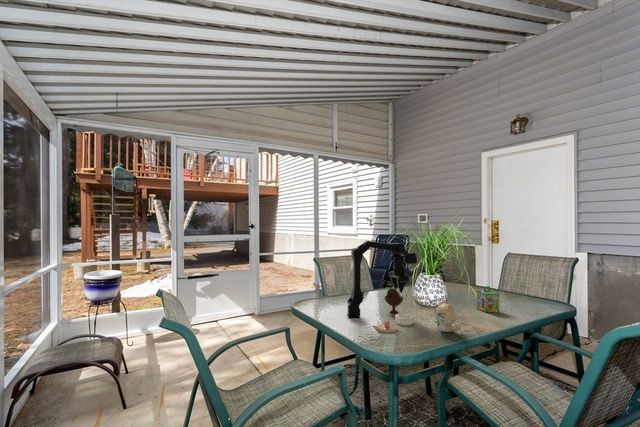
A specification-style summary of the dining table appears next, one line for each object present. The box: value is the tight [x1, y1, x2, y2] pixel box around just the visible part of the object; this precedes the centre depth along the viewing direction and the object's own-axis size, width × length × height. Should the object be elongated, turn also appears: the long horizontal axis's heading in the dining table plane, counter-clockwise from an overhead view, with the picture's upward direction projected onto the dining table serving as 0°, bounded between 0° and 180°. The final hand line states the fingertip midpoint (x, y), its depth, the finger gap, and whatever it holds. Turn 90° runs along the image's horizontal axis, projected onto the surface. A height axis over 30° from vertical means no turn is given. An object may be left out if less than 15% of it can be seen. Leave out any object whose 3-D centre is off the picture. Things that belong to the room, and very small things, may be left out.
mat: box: [372, 324, 404, 335], centre depth 159 cm, size 12×12×1 cm
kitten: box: [434, 298, 462, 333], centre depth 158 cm, size 15×10×15 cm, turn 4°
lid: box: [376, 319, 399, 333], centre depth 159 cm, size 10×10×4 cm
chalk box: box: [476, 285, 500, 313], centre depth 193 cm, size 9×9×15 cm
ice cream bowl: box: [384, 287, 404, 315], centre depth 189 cm, size 11×11×15 cm
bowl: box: [394, 312, 414, 326], centre depth 170 cm, size 9×9×4 cm
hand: (398, 290), depth 185 cm, fingers open, 9 cm apart
